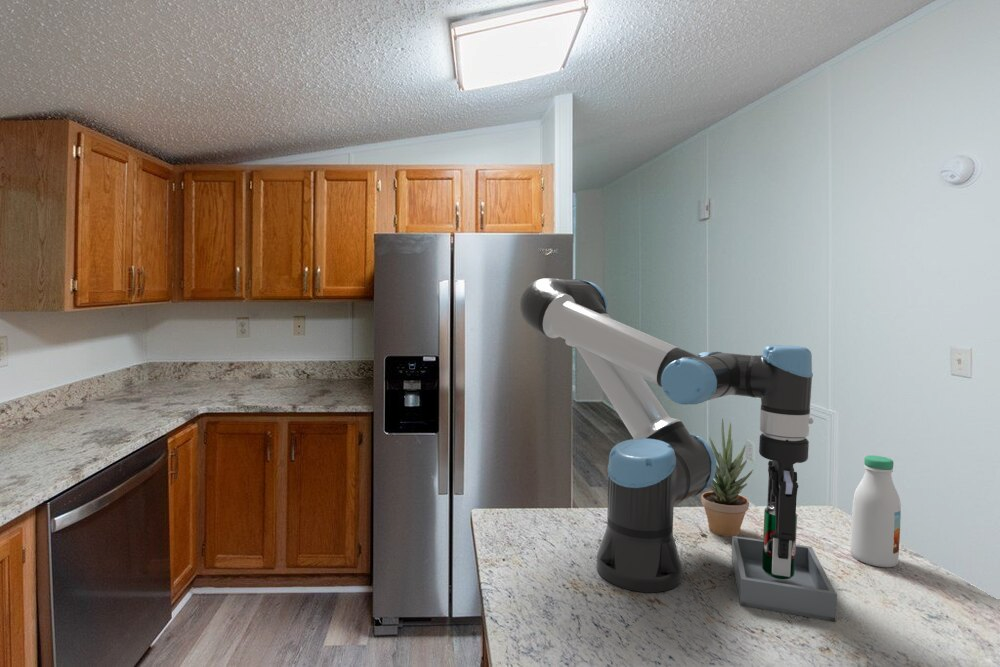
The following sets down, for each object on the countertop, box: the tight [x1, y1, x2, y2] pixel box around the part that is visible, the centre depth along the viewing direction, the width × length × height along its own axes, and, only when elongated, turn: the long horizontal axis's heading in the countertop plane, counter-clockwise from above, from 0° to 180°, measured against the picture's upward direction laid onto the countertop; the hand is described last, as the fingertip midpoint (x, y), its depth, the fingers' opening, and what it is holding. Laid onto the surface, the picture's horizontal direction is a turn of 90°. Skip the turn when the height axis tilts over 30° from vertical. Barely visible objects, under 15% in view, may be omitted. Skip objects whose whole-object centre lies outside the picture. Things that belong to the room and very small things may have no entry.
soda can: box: [762, 502, 798, 579], centre depth 95 cm, size 5×5×12 cm
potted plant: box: [700, 418, 754, 537], centre depth 118 cm, size 10×10×25 cm
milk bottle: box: [849, 455, 902, 568], centre depth 105 cm, size 8×8×20 cm
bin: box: [730, 535, 838, 622], centre depth 95 cm, size 14×18×4 cm
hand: (778, 566), depth 95 cm, fingers closed on soda can, 5 cm apart
